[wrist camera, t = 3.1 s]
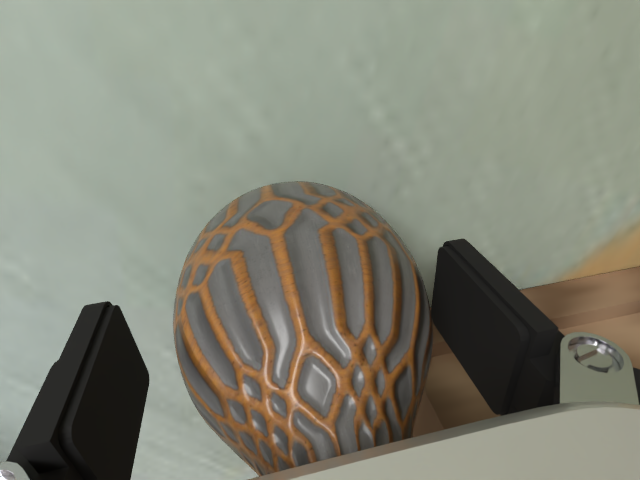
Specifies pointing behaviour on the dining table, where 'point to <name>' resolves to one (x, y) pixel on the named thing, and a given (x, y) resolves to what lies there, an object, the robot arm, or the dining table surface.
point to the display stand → (569, 316)
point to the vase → (302, 327)
